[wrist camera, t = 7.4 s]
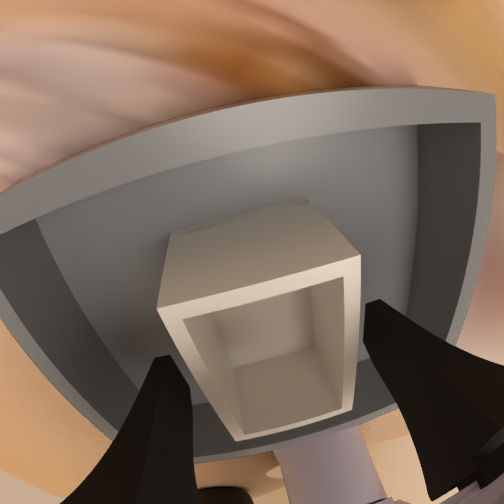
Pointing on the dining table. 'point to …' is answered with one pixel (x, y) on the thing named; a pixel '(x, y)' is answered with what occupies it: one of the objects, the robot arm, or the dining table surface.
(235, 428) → the small crate
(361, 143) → the big crate
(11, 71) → the dining table surface
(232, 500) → the cola bottle
